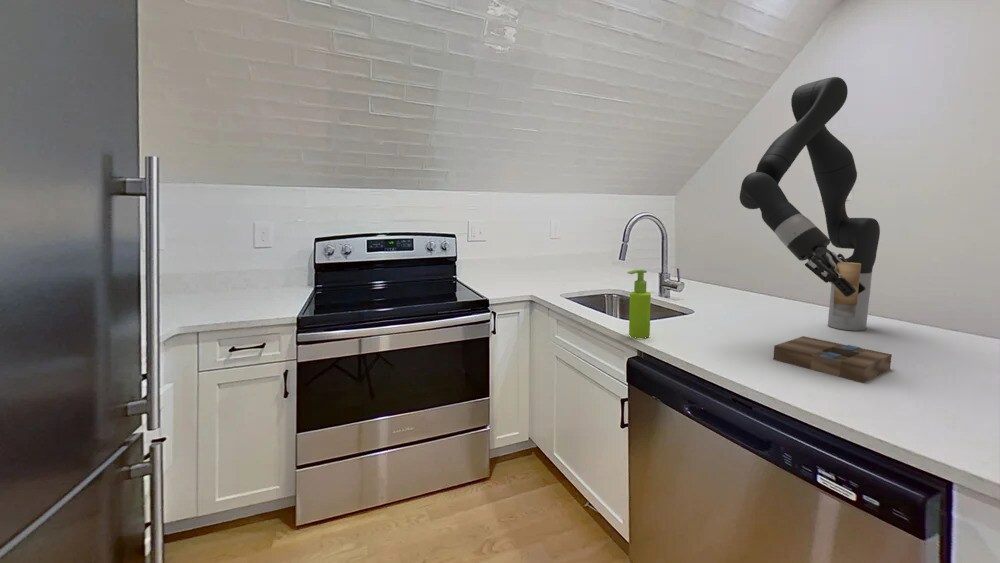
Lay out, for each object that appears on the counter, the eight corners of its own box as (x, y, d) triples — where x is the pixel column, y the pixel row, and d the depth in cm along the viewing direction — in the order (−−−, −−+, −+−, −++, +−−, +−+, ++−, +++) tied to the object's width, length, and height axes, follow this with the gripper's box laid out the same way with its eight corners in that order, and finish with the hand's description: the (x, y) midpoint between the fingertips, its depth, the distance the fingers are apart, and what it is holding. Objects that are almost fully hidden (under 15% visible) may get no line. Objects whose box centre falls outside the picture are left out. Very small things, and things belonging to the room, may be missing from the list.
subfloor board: (802, 349, 113) (803, 335, 112) (890, 369, 97) (891, 353, 97) (773, 359, 106) (774, 344, 105) (862, 382, 90) (864, 365, 90)
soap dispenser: (622, 334, 130) (623, 269, 127) (641, 332, 132) (643, 268, 129) (633, 340, 125) (634, 272, 122) (653, 337, 127) (655, 270, 124)
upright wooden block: (837, 312, 101) (842, 261, 99) (858, 315, 97) (864, 263, 95) (828, 315, 99) (833, 263, 97) (850, 318, 95) (856, 265, 93)
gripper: (798, 227, 98) (858, 286, 89) (829, 224, 105) (886, 279, 96) (772, 249, 103) (826, 306, 95) (803, 245, 110) (855, 299, 102)
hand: (856, 292), depth 96 cm, fingers closed on upright wooden block, 4 cm apart
